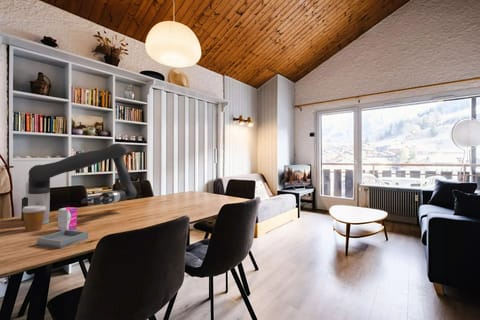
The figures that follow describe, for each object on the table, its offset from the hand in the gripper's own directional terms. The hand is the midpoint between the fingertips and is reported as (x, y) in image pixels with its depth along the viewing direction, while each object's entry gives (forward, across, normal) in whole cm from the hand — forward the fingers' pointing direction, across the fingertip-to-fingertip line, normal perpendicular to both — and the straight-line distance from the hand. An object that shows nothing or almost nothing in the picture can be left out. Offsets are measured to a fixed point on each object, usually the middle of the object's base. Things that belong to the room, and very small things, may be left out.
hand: (87, 202), depth 130 cm
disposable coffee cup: (+17, -16, +12) cm, 26 cm away
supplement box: (+12, 0, +13) cm, 17 cm away
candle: (+4, -40, +12) cm, 42 cm away
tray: (+25, +14, +12) cm, 31 cm away
